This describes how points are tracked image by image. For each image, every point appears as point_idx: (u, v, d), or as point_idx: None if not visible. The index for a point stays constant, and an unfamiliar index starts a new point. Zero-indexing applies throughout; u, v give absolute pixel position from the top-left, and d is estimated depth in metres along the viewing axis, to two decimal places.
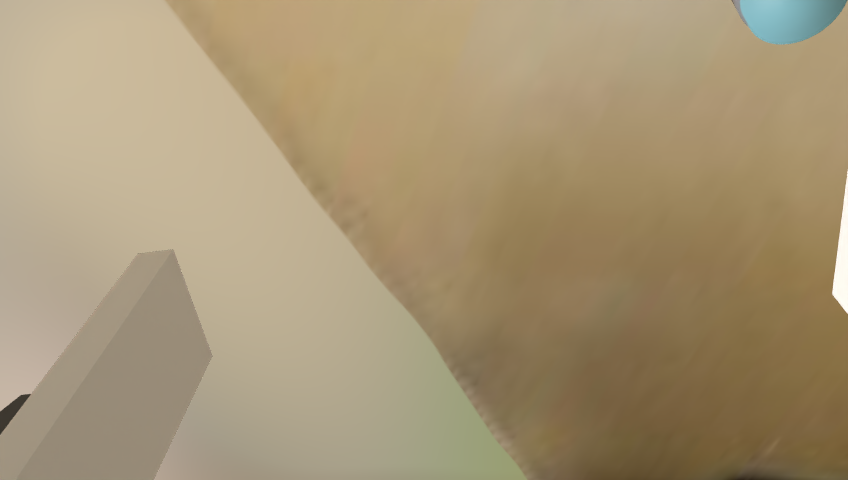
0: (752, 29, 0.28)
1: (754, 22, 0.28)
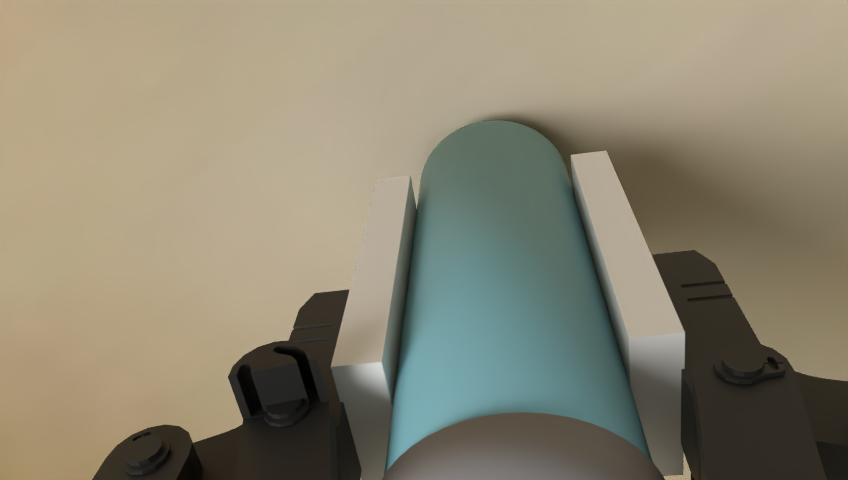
0: None
1: None
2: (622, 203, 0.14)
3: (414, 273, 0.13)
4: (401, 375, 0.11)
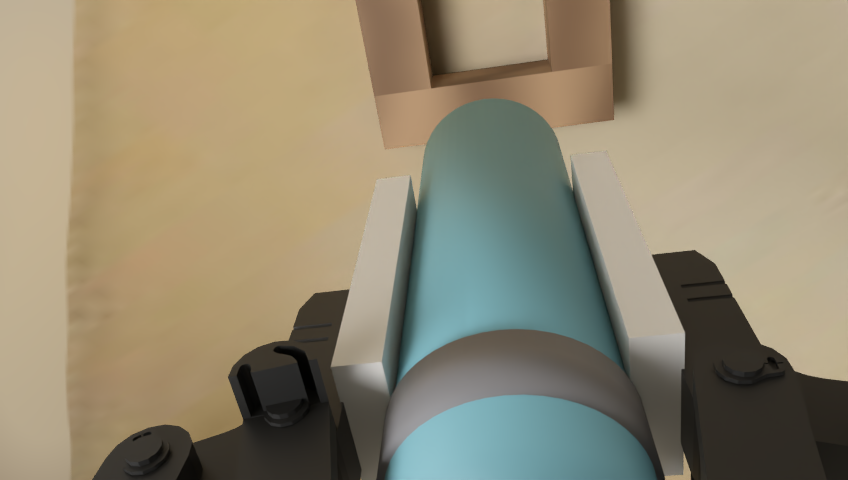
0: None
1: None
2: (622, 203, 0.14)
3: (419, 230, 0.15)
4: (409, 312, 0.12)
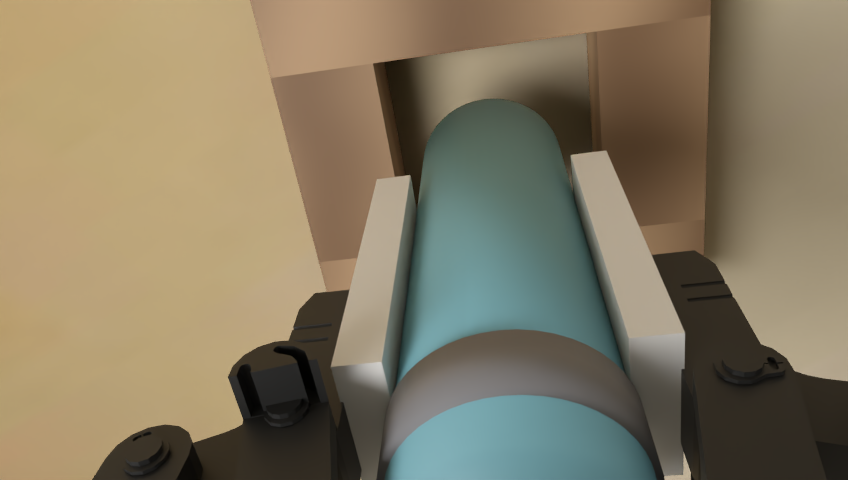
0: None
1: None
2: (622, 203, 0.14)
3: (419, 231, 0.15)
4: (409, 313, 0.12)
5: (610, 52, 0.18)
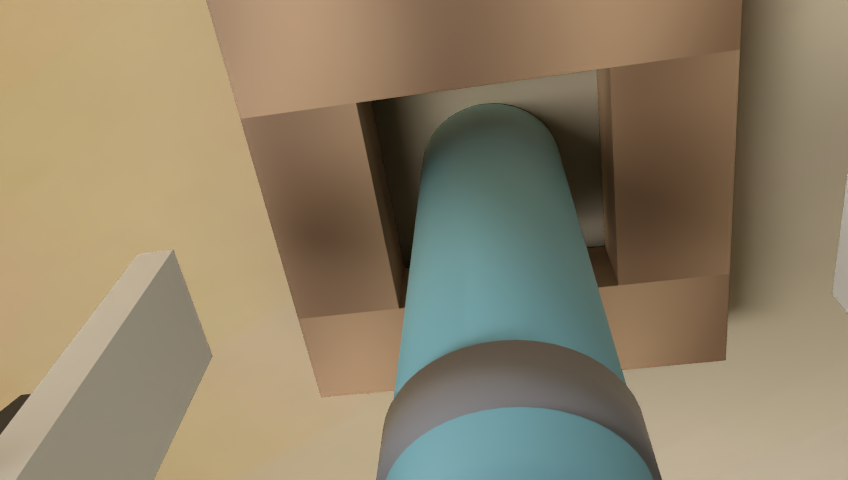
0: None
1: None
2: None
3: (418, 237, 0.15)
4: (407, 321, 0.12)
5: (625, 91, 0.16)
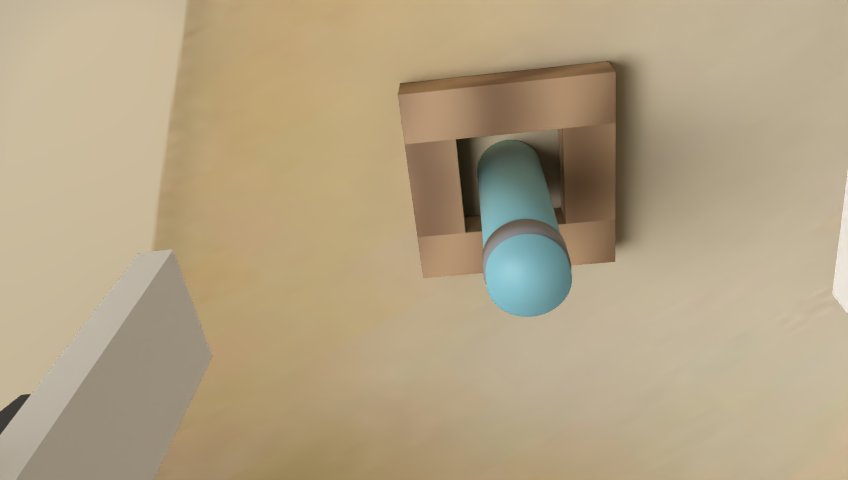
0: (487, 281, 0.32)
1: (492, 276, 0.31)
2: None
3: (485, 194, 0.37)
4: (486, 220, 0.35)
5: (569, 138, 0.39)
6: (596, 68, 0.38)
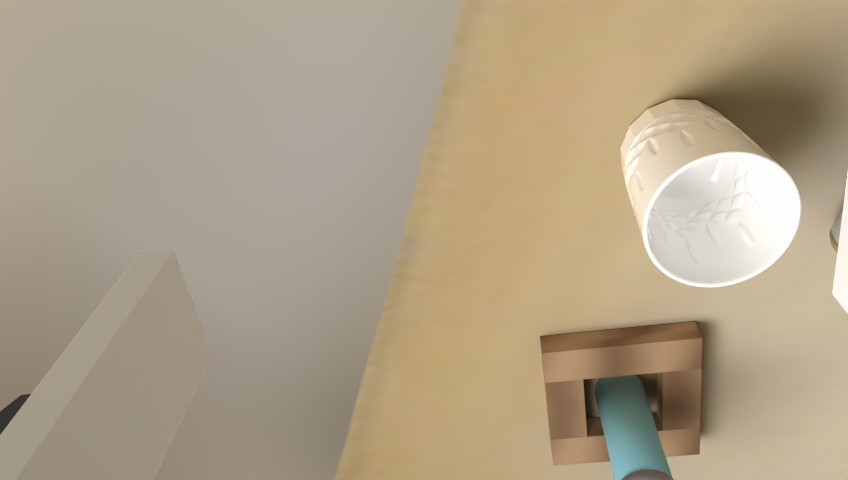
0: None
1: None
2: None
3: (609, 428, 0.52)
4: (615, 458, 0.49)
5: (667, 378, 0.53)
6: (686, 330, 0.52)
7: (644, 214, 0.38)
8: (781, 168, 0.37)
